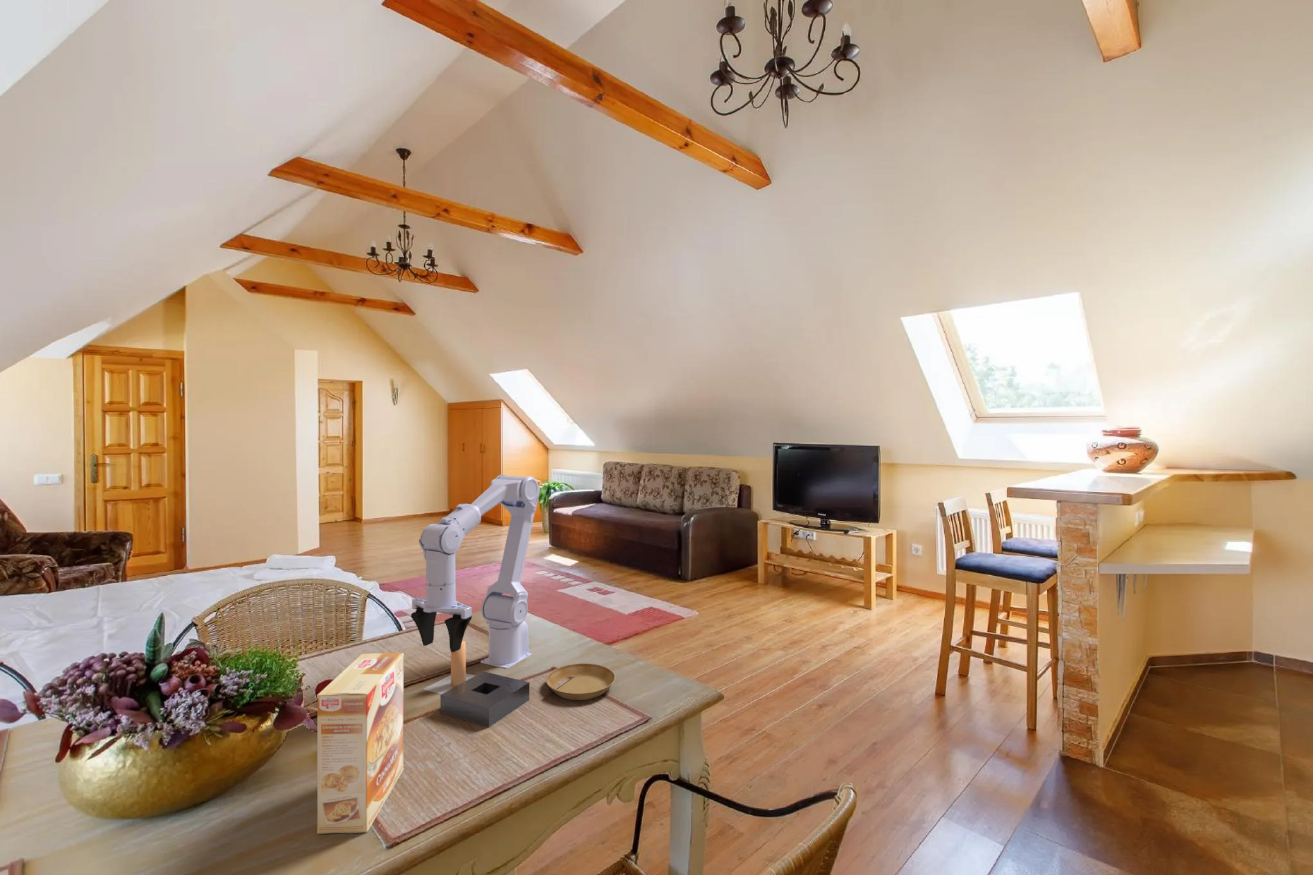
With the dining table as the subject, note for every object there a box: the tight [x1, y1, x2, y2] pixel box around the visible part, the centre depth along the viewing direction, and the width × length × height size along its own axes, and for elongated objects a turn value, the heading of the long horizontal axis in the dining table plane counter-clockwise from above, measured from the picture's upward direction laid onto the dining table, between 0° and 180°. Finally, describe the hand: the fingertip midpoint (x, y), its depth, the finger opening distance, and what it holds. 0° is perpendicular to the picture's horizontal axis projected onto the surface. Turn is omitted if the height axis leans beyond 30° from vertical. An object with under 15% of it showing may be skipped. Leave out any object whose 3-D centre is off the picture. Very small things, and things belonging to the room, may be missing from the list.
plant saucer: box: [545, 662, 616, 701], centre depth 126 cm, size 15×15×3 cm
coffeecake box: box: [316, 652, 405, 835], centre depth 88 cm, size 15×7×20 cm, turn 4°
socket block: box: [439, 670, 530, 728], centre depth 117 cm, size 12×12×4 cm
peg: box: [450, 640, 467, 687], centre depth 126 cm, size 3×3×9 cm
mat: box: [422, 672, 476, 695], centre depth 127 cm, size 10×10×1 cm
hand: (441, 647), depth 122 cm, fingers open, 7 cm apart
